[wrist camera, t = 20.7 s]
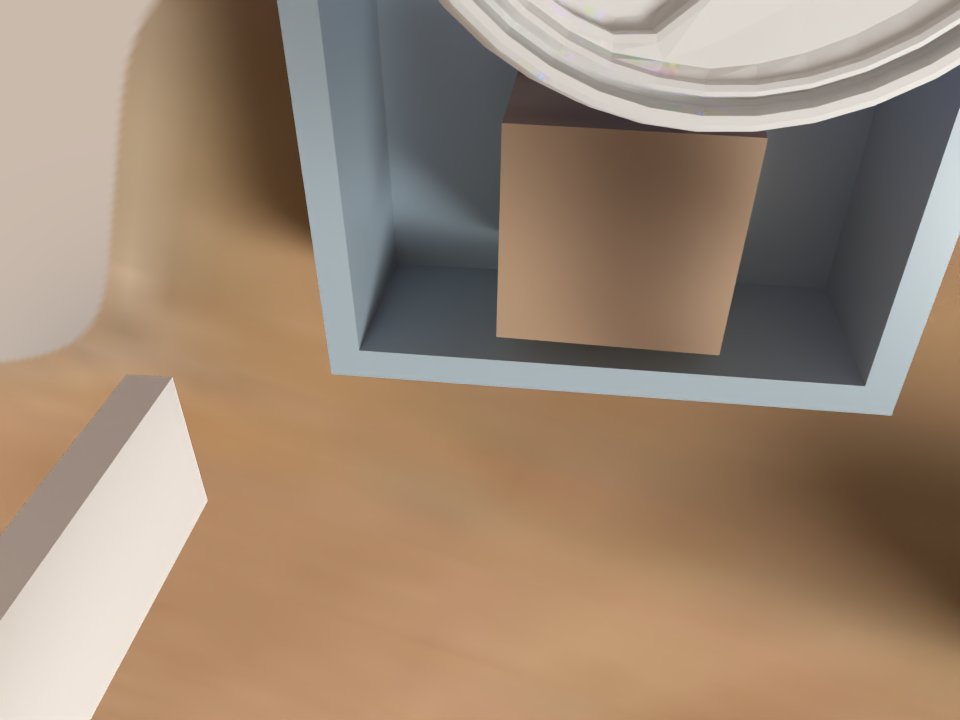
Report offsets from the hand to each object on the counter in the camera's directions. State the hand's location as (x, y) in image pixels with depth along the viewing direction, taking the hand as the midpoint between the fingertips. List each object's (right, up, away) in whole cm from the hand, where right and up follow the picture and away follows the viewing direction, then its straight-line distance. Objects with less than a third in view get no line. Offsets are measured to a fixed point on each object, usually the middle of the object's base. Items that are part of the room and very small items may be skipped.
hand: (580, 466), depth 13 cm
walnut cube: (+2, +7, +8) cm, 11 cm away
